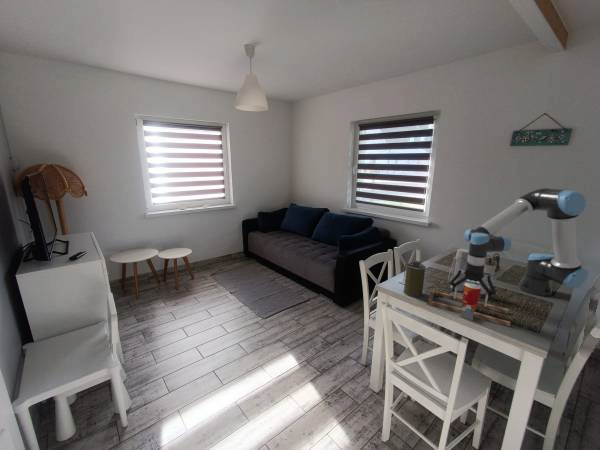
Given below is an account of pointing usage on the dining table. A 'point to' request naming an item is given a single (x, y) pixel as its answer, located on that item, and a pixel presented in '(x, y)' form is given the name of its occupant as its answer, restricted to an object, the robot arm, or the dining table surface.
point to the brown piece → (477, 315)
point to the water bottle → (459, 267)
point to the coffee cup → (471, 293)
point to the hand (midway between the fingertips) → (469, 301)
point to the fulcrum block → (467, 312)
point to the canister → (414, 278)
